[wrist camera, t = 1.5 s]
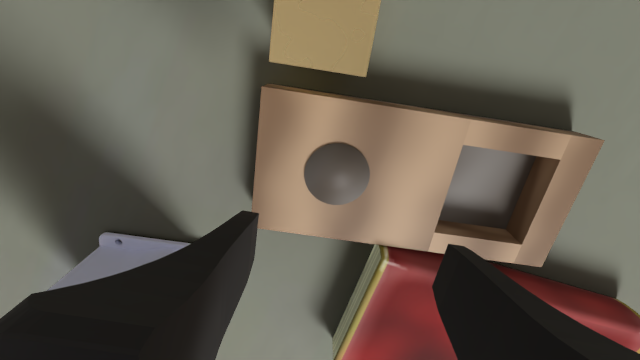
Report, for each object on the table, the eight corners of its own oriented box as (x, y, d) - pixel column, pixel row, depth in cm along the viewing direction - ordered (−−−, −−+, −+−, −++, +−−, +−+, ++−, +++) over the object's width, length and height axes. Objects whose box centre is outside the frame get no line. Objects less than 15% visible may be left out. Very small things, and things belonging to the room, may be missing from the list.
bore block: (257, 209, 23) (250, 227, 20) (269, 83, 20) (261, 86, 17) (520, 246, 24) (542, 268, 21) (572, 131, 20) (605, 140, 18)
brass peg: (287, 60, 19) (268, 61, 13) (295, -15, 18) (278, -57, 11) (351, 70, 19) (366, 77, 13) (364, -3, 18) (388, -38, 11)
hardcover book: (375, 224, 24) (386, 257, 20) (613, 293, 26) (664, 335, 22) (326, 336, 28) (327, 381, 24) (534, 387, 30) (565, 437, 26)
